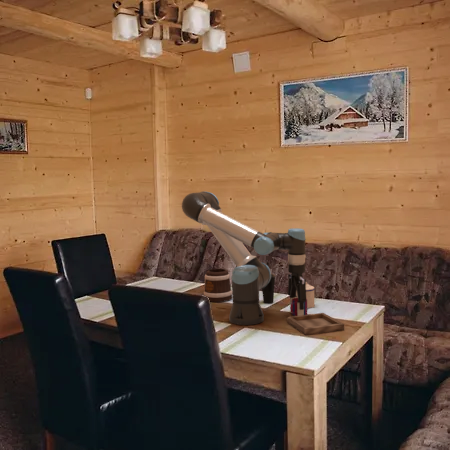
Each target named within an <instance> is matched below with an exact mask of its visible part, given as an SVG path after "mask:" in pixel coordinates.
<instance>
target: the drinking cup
mask: <svg viewBox="0 0 450 450" xmlns="http://www.w3.org/2000/svg"><path fill="white" fill-rule="evenodd" d="M266 265H267V266H268V267H269V262H266ZM275 281H276V274H275V273H272V272H271V279H270V282H269V283H268V284H267V286H266V287H264V288H263V289H261V293H262V299H263V303H264V304H265V305H267V304H274V297H275V296H274V295H275V284H276V282H275Z"/></svg>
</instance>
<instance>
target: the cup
mask: <svg viewBox="0 0 450 450" xmlns="http://www.w3.org/2000/svg"><path fill="white" fill-rule="evenodd" d="M297 301H298V298H293V299H292V303H291V305H290V306H289V311H291V312H290V313H291V314H292V315H291V316H297ZM304 315H308V308H307V299H306V302H304Z"/></svg>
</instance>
